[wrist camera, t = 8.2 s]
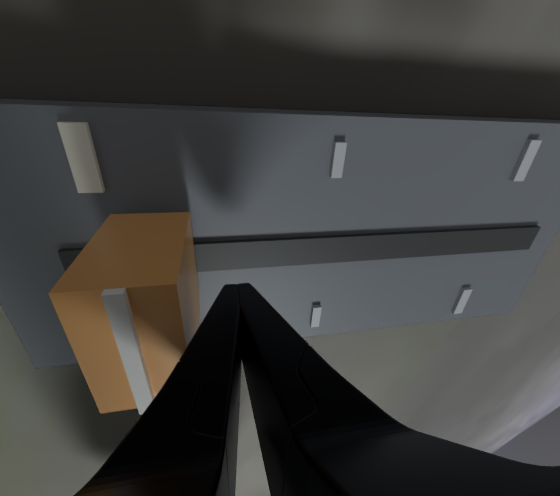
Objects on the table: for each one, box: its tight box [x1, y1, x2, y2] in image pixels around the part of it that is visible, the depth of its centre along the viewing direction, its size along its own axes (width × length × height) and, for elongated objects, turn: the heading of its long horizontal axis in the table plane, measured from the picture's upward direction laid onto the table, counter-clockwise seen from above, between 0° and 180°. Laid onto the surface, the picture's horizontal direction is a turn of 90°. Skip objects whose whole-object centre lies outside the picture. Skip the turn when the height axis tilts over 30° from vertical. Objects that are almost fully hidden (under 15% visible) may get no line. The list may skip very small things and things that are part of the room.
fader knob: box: [48, 212, 200, 415], centre depth 8 cm, size 4×2×4 cm, turn 177°
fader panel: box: [0, 98, 560, 369], centre depth 13 cm, size 10×24×2 cm, turn 87°
